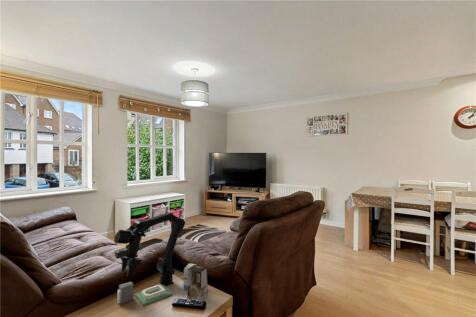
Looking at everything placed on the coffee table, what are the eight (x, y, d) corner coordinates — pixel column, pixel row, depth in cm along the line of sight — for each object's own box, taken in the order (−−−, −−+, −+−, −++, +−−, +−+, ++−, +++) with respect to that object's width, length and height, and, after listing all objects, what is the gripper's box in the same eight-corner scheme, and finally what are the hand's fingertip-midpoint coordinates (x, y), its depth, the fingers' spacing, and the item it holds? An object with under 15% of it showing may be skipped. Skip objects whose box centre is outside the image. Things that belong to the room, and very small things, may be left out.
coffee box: (207, 297, 132) (208, 267, 133) (201, 303, 127) (201, 272, 127) (193, 293, 136) (194, 264, 136) (186, 298, 130) (187, 268, 131)
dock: (163, 286, 143) (163, 281, 143) (172, 295, 134) (172, 289, 134) (135, 295, 132) (135, 290, 132) (143, 305, 123) (143, 300, 123)
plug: (130, 296, 132) (130, 281, 132) (133, 299, 129) (133, 284, 129) (116, 301, 127) (117, 285, 127) (118, 304, 124) (119, 288, 124)
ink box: (190, 290, 138) (191, 270, 139) (182, 289, 139) (183, 269, 140) (196, 283, 147) (196, 263, 147) (188, 282, 148) (189, 263, 148)
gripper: (113, 238, 134) (104, 268, 130) (124, 247, 120) (114, 281, 116) (133, 240, 141) (125, 269, 137) (146, 248, 127) (137, 280, 123)
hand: (125, 274), depth 128 cm, fingers open, 9 cm apart
